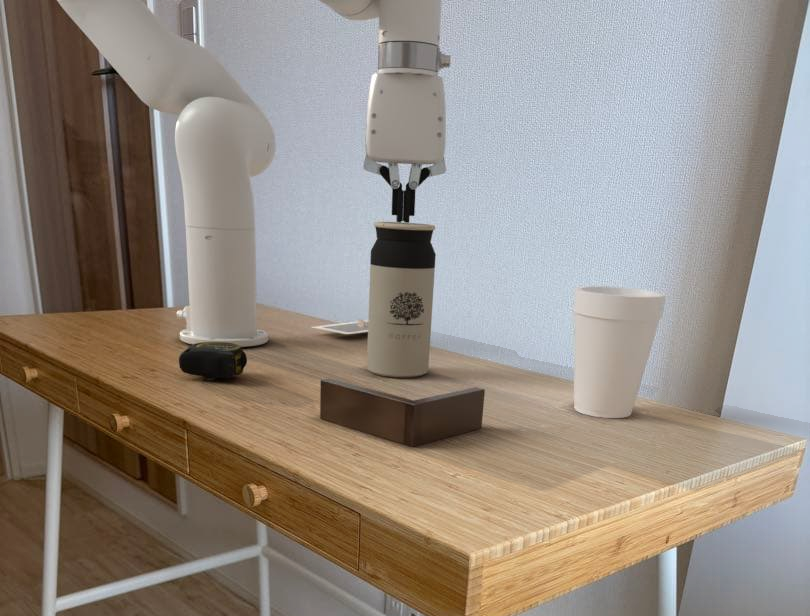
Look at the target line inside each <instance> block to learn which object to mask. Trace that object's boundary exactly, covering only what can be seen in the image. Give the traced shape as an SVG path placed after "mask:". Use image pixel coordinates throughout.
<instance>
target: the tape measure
mask: <svg viewBox="0 0 810 616" xmlns="http://www.w3.org/2000/svg"><path fill="white" fill-rule="evenodd" d="M247 363H248V357H247V353H246V351H245V350H243V347H241V346H240V345H238V344H234V343H228V342H201V343H196V344H193V345H192V344H189V346H188V347H187V348H186V349H185V350H184V351H182V352H181V353H180V354H179V356H178V366H179V369H180V371H182V373H184V374H188V375H192V376H197V377H203V378H204V379H206V380H208V381H213V380H216V379H235V377H237V376H240V375H241V374H243V372H244V369H245V367H246V365H247Z"/></svg>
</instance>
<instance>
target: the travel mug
mask: <svg viewBox="0 0 810 616" xmlns="http://www.w3.org/2000/svg"><path fill="white" fill-rule="evenodd" d="M373 227H375V233H376V240H375V242H374V244H373V246H372V248H371V249H370V264H369V265H370V266H369V289H368V290H369V291H368V292H369V295H368V317H367V320H368V332H367V347H366V349H367V351H366V352H367V353H366V369H367V370H368V371H369V372H371V373H372V374H375V375H377V376H380V377H386V378H399V379H409V378H417V377H418V378H419V377H421V376H423V375H425V374H427V373H428V372H429V365H430V352H431V351H430V349H431V334H432V320H433V319H432V317H433V303H434V287H435V272H436V252H435V249H434V246H433V244H432V238H433V234H434V231H435V230H436V226H435V225H434V224H428V223H419V222H418V223H417V222H409V223H407V222H404V221H401V222H396V221H375V222H373Z"/></svg>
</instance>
